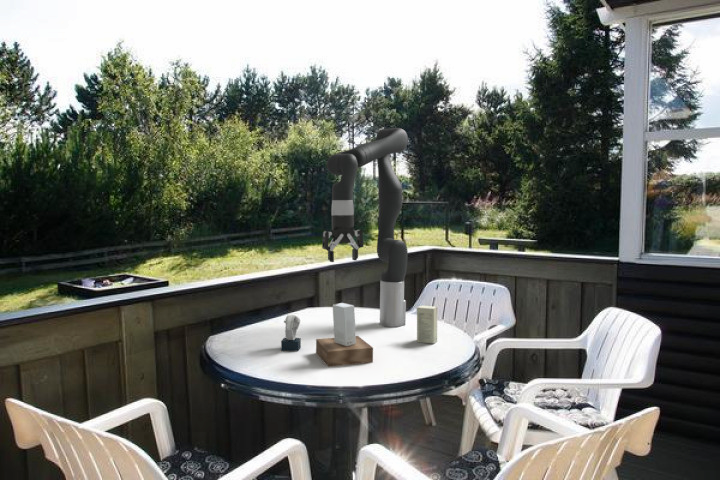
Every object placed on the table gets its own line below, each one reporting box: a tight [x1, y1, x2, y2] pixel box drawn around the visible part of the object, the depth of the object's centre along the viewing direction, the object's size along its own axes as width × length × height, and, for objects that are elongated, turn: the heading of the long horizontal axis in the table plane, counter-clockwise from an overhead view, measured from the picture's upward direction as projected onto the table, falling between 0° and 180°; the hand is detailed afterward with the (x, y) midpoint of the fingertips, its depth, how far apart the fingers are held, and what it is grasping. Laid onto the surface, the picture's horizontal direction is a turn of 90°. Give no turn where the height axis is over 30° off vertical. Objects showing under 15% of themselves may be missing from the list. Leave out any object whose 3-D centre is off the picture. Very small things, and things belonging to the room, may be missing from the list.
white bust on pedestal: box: [280, 314, 302, 352], centre depth 173 cm, size 6×8×11 cm
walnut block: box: [315, 335, 374, 368], centre depth 165 cm, size 14×14×5 cm
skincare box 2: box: [416, 305, 438, 344], centre depth 184 cm, size 6×4×12 cm
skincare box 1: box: [332, 302, 357, 346], centre depth 164 cm, size 6×4×12 cm
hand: (343, 261), depth 182 cm, fingers open, 8 cm apart
